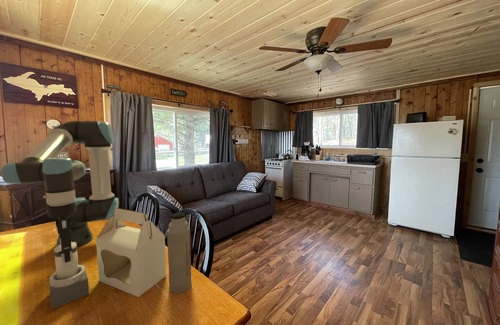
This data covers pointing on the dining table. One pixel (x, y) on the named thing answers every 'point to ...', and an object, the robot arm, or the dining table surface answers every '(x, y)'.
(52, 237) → the dining table surface
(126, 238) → the gable box
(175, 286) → the thermos bottle
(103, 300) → the dining table surface
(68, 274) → the beige rounded cylinder
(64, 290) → the grey socket block
